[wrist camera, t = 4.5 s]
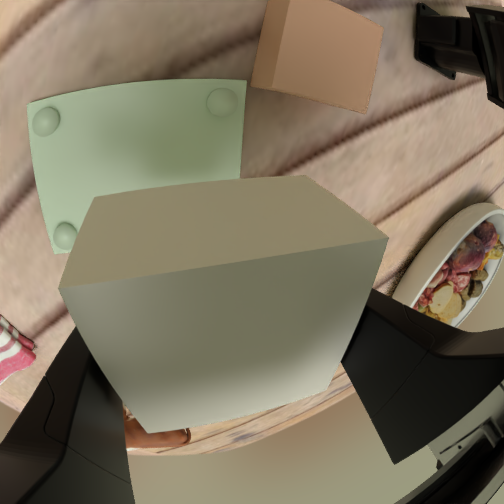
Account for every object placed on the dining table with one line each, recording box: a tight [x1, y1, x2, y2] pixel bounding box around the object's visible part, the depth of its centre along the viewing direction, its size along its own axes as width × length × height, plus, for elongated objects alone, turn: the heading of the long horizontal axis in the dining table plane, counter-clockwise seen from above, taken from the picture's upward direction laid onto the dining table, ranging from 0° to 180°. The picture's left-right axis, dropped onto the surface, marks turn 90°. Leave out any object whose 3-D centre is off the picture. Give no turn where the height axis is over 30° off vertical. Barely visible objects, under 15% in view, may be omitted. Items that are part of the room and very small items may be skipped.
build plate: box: [27, 79, 247, 254], centre depth 16 cm, size 14×11×1 cm
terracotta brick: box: [250, 0, 384, 114], centre depth 14 cm, size 6×6×4 cm
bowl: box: [392, 203, 504, 328], centre depth 35 cm, size 30×30×8 cm
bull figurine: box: [123, 402, 191, 451], centre depth 27 cm, size 4×13×8 cm, turn 71°
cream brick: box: [58, 175, 389, 433], centre depth 8 cm, size 6×6×4 cm
